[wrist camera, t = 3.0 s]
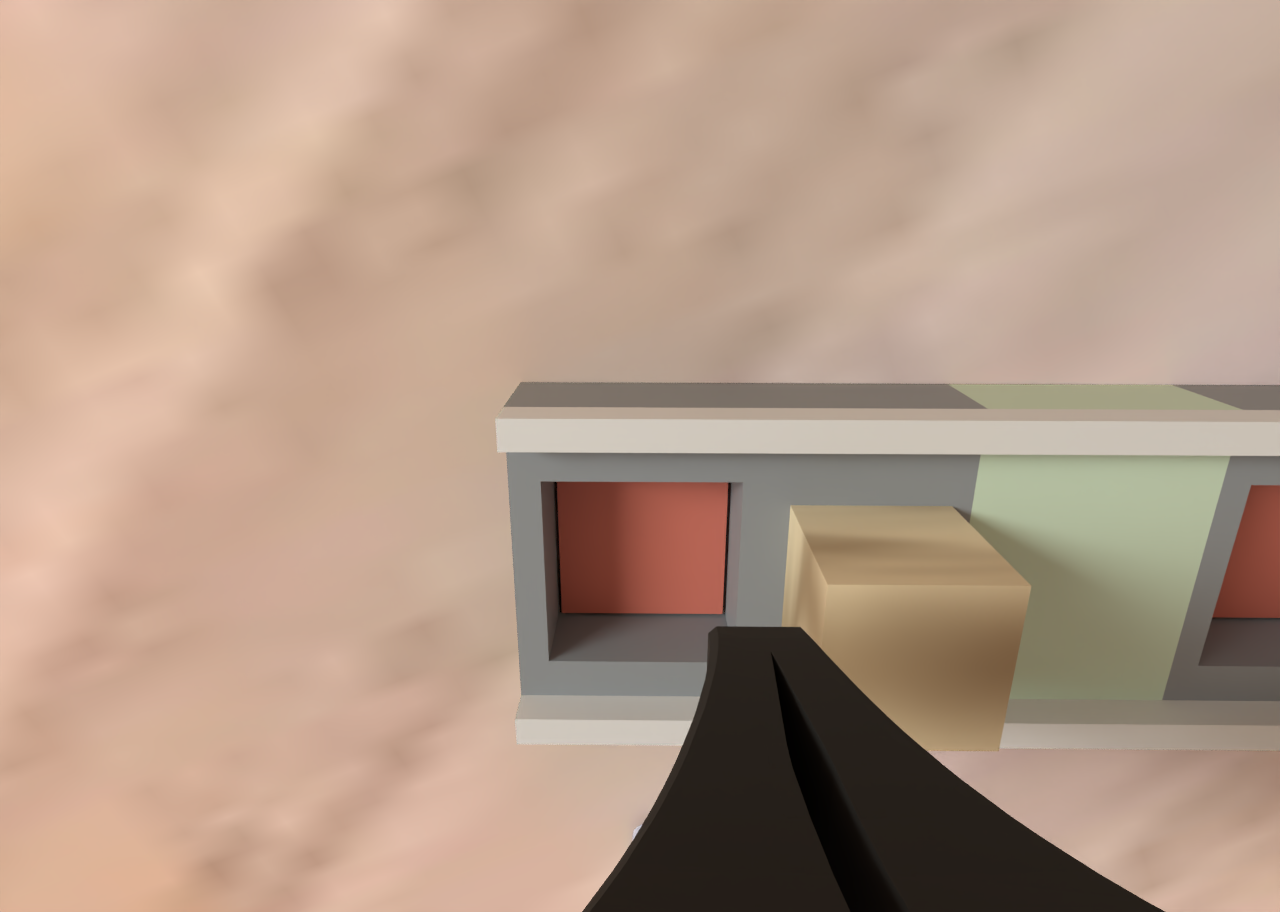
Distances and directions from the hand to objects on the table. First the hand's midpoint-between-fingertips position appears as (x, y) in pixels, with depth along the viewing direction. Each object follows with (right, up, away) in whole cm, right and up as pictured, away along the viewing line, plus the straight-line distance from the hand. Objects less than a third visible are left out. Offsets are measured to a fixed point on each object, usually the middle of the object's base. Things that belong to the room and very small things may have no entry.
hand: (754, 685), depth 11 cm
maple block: (+4, 0, +8) cm, 9 cm away
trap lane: (+7, +1, +11) cm, 13 cm away
